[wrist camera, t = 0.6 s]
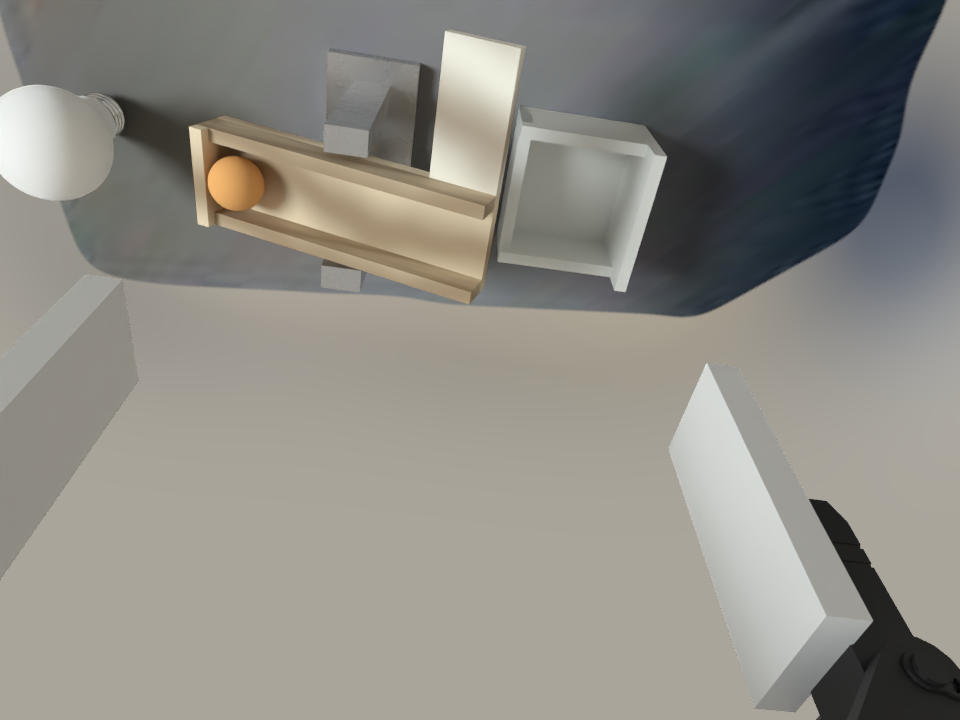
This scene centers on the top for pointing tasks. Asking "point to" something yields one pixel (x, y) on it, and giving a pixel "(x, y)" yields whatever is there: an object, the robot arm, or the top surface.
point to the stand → (368, 123)
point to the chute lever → (385, 182)
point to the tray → (578, 193)
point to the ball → (236, 183)
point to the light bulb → (57, 140)
